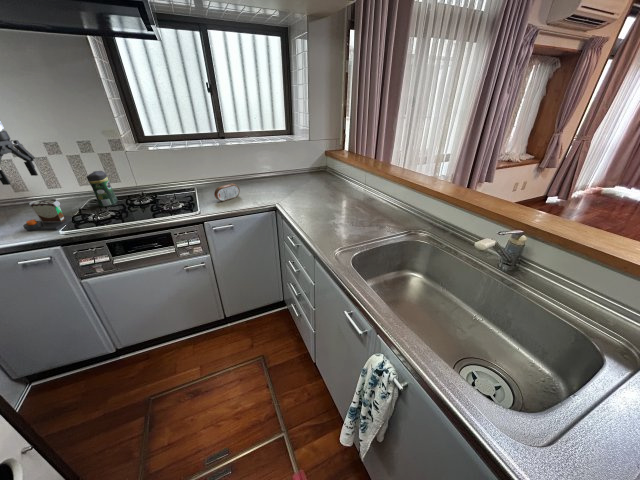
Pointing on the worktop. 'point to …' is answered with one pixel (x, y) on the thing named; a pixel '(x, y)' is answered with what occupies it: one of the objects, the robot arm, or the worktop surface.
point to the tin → (227, 192)
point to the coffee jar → (102, 188)
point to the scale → (48, 225)
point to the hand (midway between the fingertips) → (21, 179)
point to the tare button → (31, 222)
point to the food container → (48, 210)
